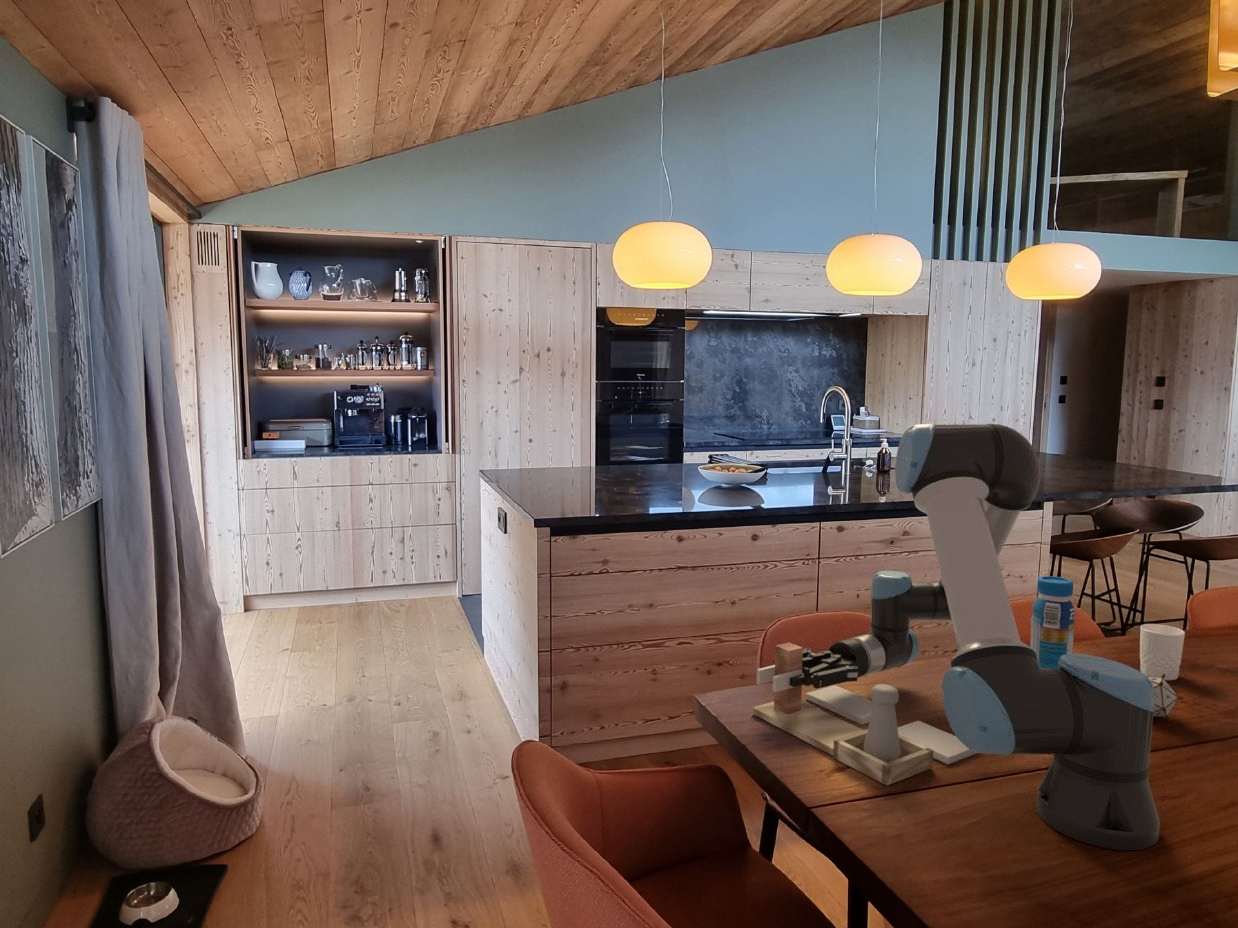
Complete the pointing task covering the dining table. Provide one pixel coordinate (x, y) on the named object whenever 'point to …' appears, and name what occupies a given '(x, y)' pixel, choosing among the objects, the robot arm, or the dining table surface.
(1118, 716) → the robot arm
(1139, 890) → the dining table surface
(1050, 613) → the beverage bottle
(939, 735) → the broken strip
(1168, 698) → the game die
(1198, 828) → the dining table surface
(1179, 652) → the white cup
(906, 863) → the dining table surface
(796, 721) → the wooden tray with post
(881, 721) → the salt shaker
